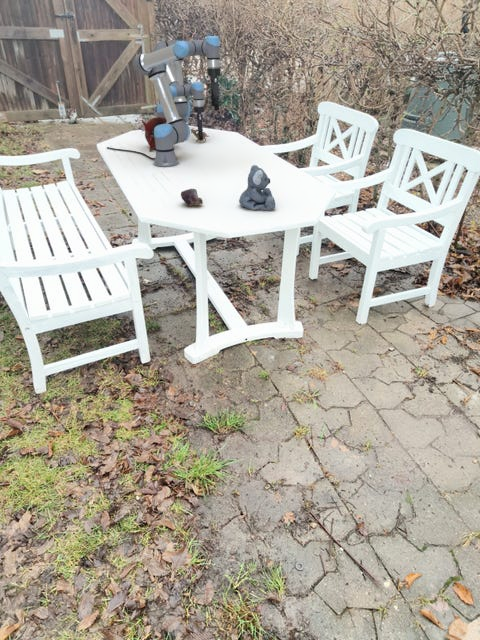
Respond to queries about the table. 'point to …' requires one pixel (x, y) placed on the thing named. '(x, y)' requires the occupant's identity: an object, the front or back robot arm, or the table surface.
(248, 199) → the koala plush
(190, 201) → the rock
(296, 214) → the table surface
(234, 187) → the table surface
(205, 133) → the dinosaur figurine
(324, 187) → the table surface
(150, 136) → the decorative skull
